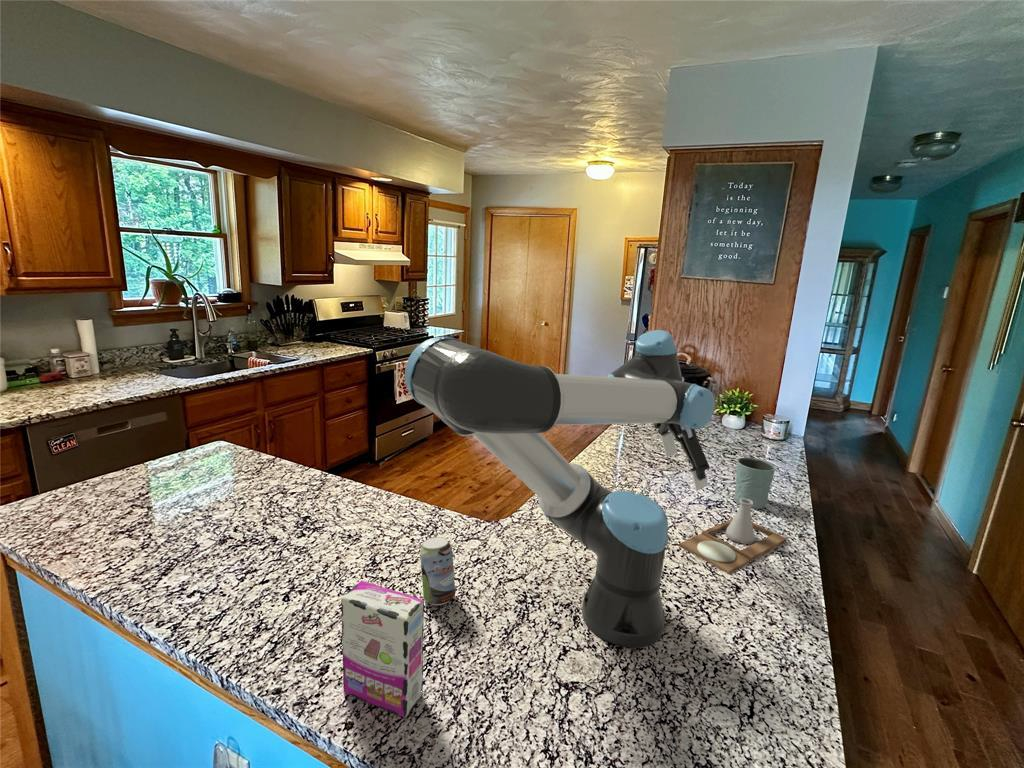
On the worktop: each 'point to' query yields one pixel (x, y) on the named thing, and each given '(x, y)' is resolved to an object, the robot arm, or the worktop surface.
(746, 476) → the green cup
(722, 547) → the board
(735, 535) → the flask
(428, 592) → the beverage can
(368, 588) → the candy bar box
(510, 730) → the worktop surface
